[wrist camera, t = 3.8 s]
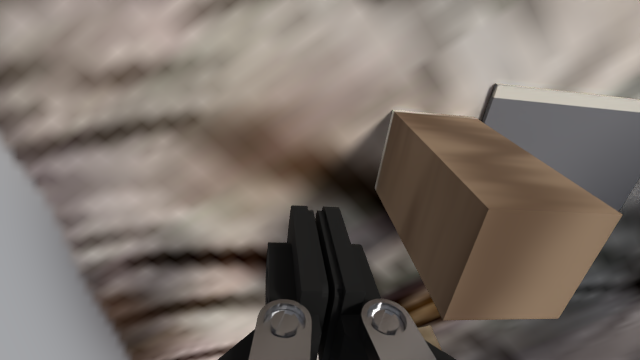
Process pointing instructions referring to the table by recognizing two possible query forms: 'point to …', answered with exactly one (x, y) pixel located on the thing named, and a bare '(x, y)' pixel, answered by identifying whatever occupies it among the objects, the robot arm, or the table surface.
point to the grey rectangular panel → (574, 135)
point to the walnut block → (487, 219)
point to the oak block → (429, 336)
